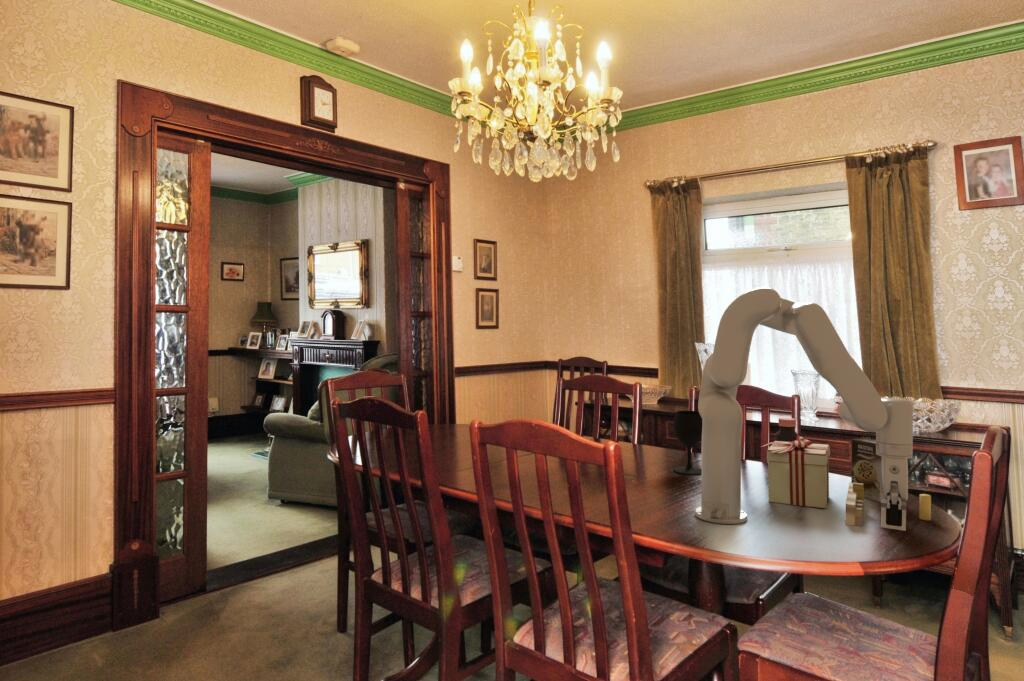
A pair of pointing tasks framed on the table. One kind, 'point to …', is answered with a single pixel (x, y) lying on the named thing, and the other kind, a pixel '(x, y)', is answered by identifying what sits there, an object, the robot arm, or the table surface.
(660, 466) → the table surface
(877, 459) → the coffee box
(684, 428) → the wine glass
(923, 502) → the post
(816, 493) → the gift box
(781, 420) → the bottle
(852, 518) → the comb fence
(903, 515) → the beige square box
